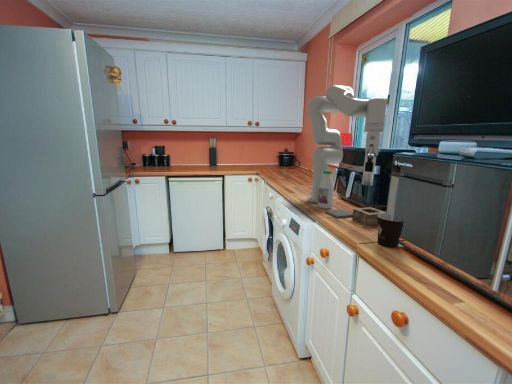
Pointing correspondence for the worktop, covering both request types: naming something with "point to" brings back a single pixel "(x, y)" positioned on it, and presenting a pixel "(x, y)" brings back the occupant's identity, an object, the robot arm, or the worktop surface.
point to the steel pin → (368, 174)
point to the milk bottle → (326, 191)
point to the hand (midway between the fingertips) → (368, 170)
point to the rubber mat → (339, 213)
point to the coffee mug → (388, 231)
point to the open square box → (367, 215)
